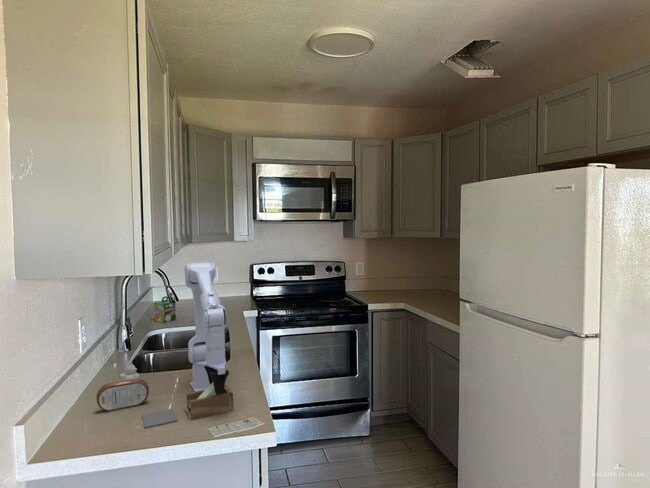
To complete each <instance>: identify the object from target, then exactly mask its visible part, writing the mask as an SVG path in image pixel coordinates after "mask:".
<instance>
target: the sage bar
mask: <svg viewBox="0 0 650 488" xmlns="http://www.w3.org/2000/svg"><path fill="white" fill-rule="evenodd" d="M214 395H216V393H215V390H214V384H213V382H212V383H211V384H210V385H209V387H208V388H207V389H206V390H205V391H204V392H203V393H202V394H201V395H200V396H199V397H198V398H197V399H200V398H205V397H209V396H214Z"/></svg>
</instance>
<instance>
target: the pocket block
mask: <svg viewBox="0 0 650 488" xmlns="http://www.w3.org/2000/svg"><path fill="white" fill-rule="evenodd" d="M204 391H205V390H201V391H196V392H195V391H192V392H187V393H186V406H185V407H184V413H185V414H186V416H187V419H188V421H193V420H198V419H200V418H205V417H210V416H214V415H218V414H224V413H228V412H232V411H234V392H232V390H231V389H230V388H229V387H228V385H224V391H223V394H218V395H214V396H209V397H205V398H200V399H197V398H198V397H199V396H200V395H201V394H202V393H203V392H204Z"/></svg>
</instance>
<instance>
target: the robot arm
mask: <svg viewBox="0 0 650 488" xmlns="http://www.w3.org/2000/svg"><path fill="white" fill-rule="evenodd" d="M215 277H216V265H215V263H214V262H213V261H210V262H209V261H208V262H207V261H206V262H192V263H189V262H187V263H186V264H185V265H184V280H185V285H186V287H187V288H189V289H190V290H191V292H192V298H193V299H192V301H193V313H194V327H195V330H194V331H195V335H193V336H192V337H191V338H190V339H189V341H188V342H187V345H188V346H187V347H188V348H187V355H188V361H189V363H191V364H192V381H191V382H190V381H189V382H190V383H189V384H190V386H191V387H192V389H193V392H196V391H201V390H206V389H207V388H208V387H209V385H210V384H211V383H212V382H213V384H214V390H215V393H216V395H218V394H223V391H224V386H226V385H225V384H226V380H227V378H228V377H229V374H230V371H229V370H228V369H226V363H227V360H226V345H225V344H226V342H225V339H226V338H225V337H226V336H225V327H226V325H227V319H228V318H227V312H226V308H225V307H224V306H223V305H222V304H221V301H220V298H219V295H218V293H217V292H216V291H214V287H213V283H214V280H215ZM203 342H204V343H203Z"/></svg>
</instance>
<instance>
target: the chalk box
mask: <svg viewBox="0 0 650 488" xmlns="http://www.w3.org/2000/svg"><path fill="white" fill-rule="evenodd" d="M167 296H168V295H165V296H162V298H161V300H159V301H155V302H153V321H154V322H157V323H164V324H165V323H169V322H173V321H176V320H177V316H176V312H177V311H176V309H177V308H176V302H175V303H173V304H171V303H170V302H169V296H168V297H167Z"/></svg>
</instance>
